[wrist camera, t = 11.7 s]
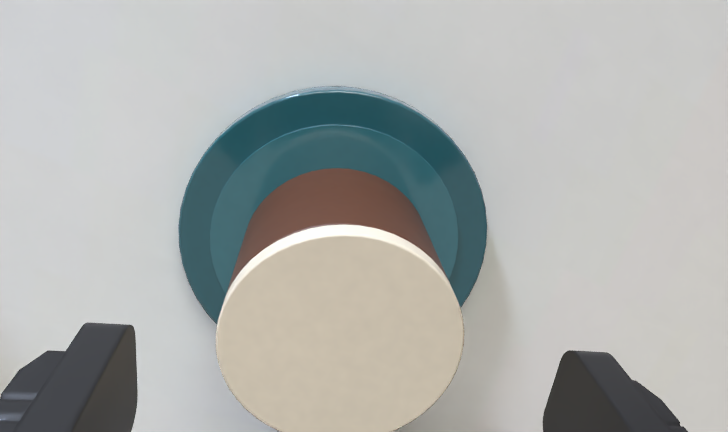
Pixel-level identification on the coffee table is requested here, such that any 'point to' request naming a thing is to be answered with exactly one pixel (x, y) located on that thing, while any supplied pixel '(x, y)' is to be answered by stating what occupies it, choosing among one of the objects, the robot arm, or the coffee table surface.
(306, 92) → the cake plate
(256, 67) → the coffee table surface
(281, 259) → the cake
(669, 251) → the coffee table surface
